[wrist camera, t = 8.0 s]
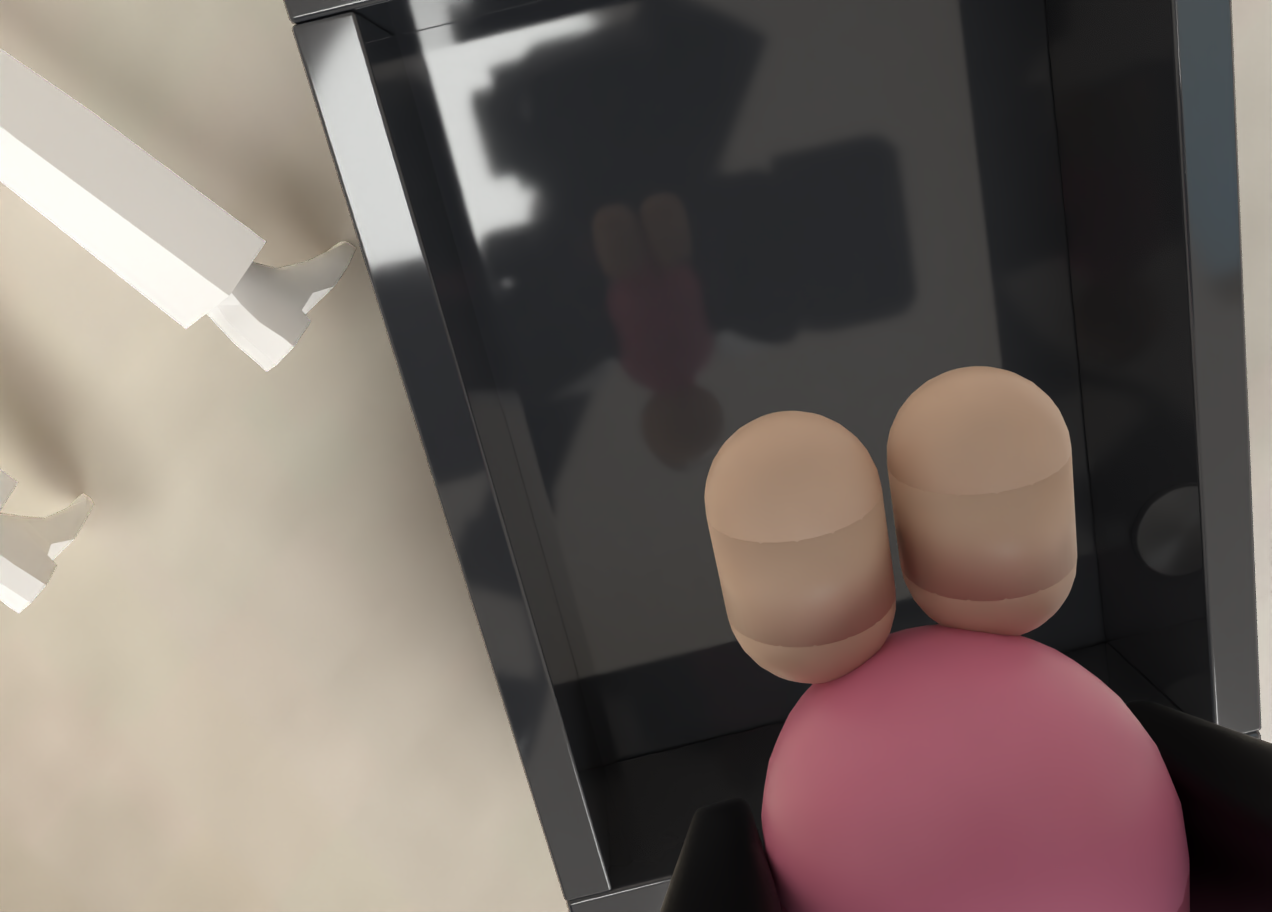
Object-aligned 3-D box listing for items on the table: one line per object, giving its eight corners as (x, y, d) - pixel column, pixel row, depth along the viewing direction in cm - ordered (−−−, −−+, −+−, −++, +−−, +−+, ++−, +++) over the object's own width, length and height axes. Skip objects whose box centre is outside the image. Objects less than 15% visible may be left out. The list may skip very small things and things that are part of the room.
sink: (1130, 651, 21) (1264, 772, 17) (572, 788, 21) (576, 941, 17) (1058, -178, 16) (1222, -280, 12) (337, -3, 16) (267, -48, 12)
